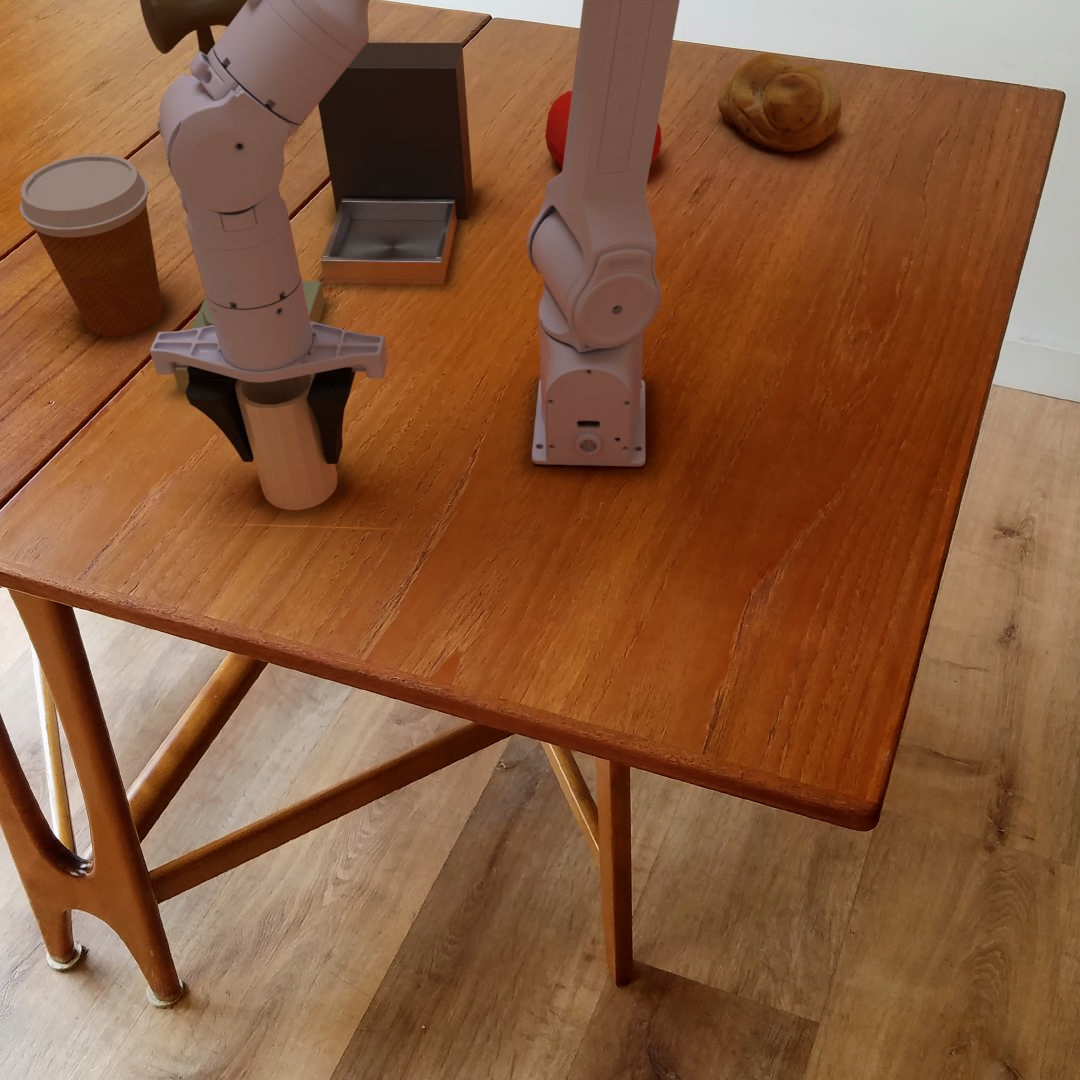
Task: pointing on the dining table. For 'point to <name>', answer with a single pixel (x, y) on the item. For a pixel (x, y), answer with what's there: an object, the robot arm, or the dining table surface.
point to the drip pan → (390, 241)
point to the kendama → (187, 20)
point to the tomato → (559, 126)
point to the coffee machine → (400, 125)
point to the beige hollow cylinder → (286, 442)
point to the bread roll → (781, 103)
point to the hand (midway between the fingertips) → (293, 453)
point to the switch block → (204, 319)
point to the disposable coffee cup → (98, 238)
